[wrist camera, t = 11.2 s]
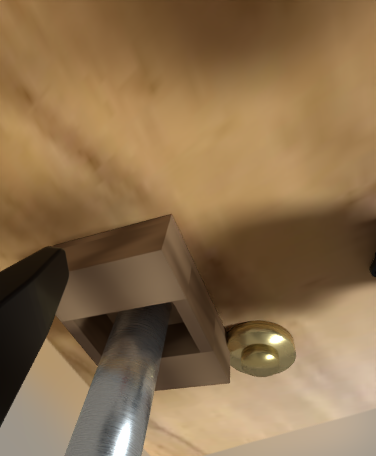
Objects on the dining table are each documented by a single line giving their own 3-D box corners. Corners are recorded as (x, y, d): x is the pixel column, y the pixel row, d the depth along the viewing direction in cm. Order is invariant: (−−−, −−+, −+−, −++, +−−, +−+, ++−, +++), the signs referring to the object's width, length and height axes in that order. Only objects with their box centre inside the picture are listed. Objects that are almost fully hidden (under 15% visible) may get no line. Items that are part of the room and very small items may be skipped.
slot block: (171, 214, 23) (161, 250, 20) (230, 341, 30) (229, 383, 27) (53, 245, 26) (27, 281, 22) (132, 354, 33) (120, 394, 29)
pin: (150, 279, 25) (91, 479, 15) (181, 311, 27) (147, 511, 16) (113, 296, 27) (35, 488, 16) (144, 325, 29) (91, 517, 18)
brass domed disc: (301, 326, 28) (306, 349, 26) (284, 367, 31) (287, 390, 29) (230, 316, 28) (229, 338, 26) (220, 358, 31) (220, 380, 30)
